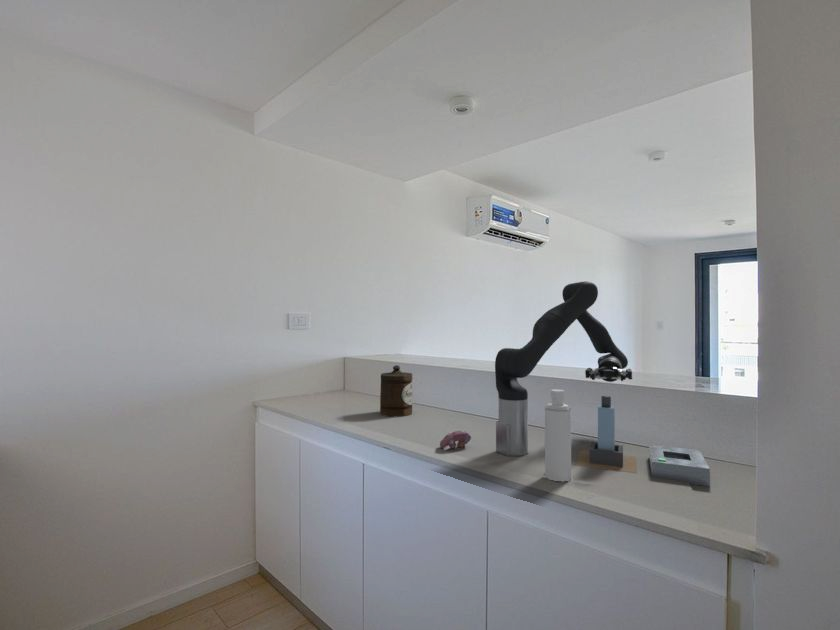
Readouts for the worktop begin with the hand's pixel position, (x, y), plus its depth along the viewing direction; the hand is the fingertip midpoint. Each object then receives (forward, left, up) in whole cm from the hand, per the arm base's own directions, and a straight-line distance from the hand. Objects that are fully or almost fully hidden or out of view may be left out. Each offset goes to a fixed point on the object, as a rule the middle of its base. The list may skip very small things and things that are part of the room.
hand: (607, 377), depth 139 cm
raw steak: (-41, +27, -24) cm, 54 cm away
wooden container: (-37, +86, -24) cm, 97 cm away
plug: (-9, -7, -23) cm, 26 cm away
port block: (+2, -21, -24) cm, 32 cm away
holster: (-9, -7, -24) cm, 27 cm away
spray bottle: (-31, -10, -24) cm, 40 cm away
